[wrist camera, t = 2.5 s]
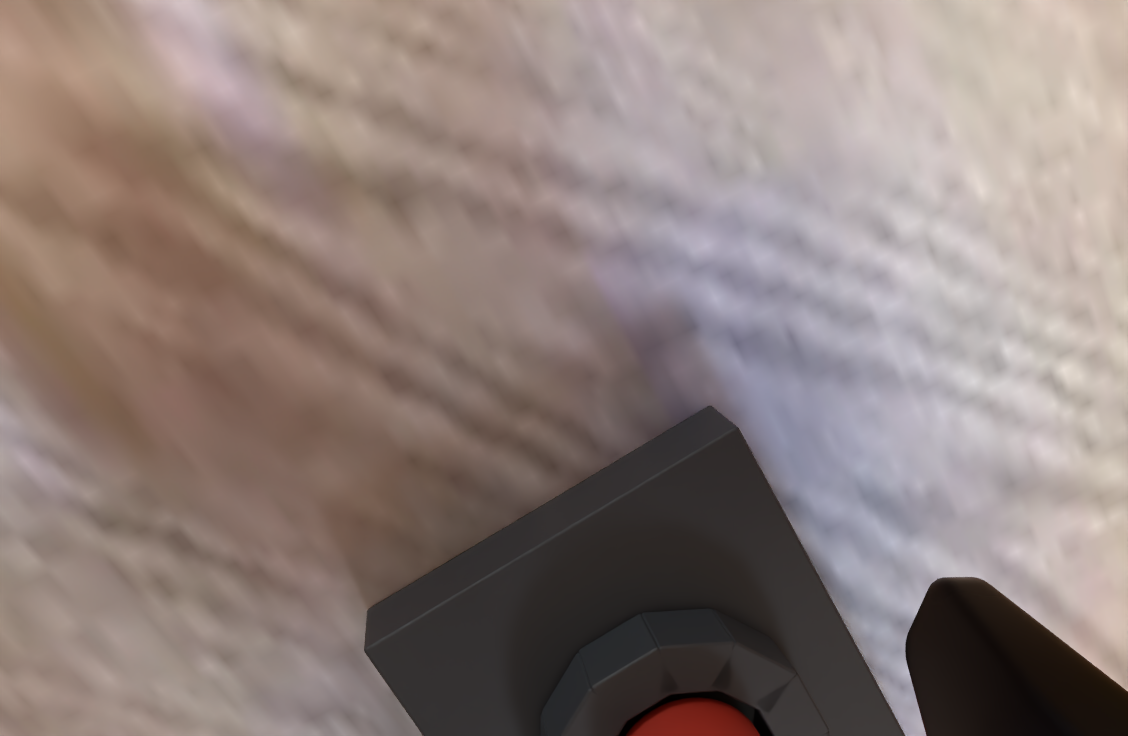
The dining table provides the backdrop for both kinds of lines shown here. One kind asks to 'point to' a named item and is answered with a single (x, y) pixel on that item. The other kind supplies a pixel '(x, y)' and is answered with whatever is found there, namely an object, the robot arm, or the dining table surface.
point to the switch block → (632, 609)
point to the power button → (694, 720)
